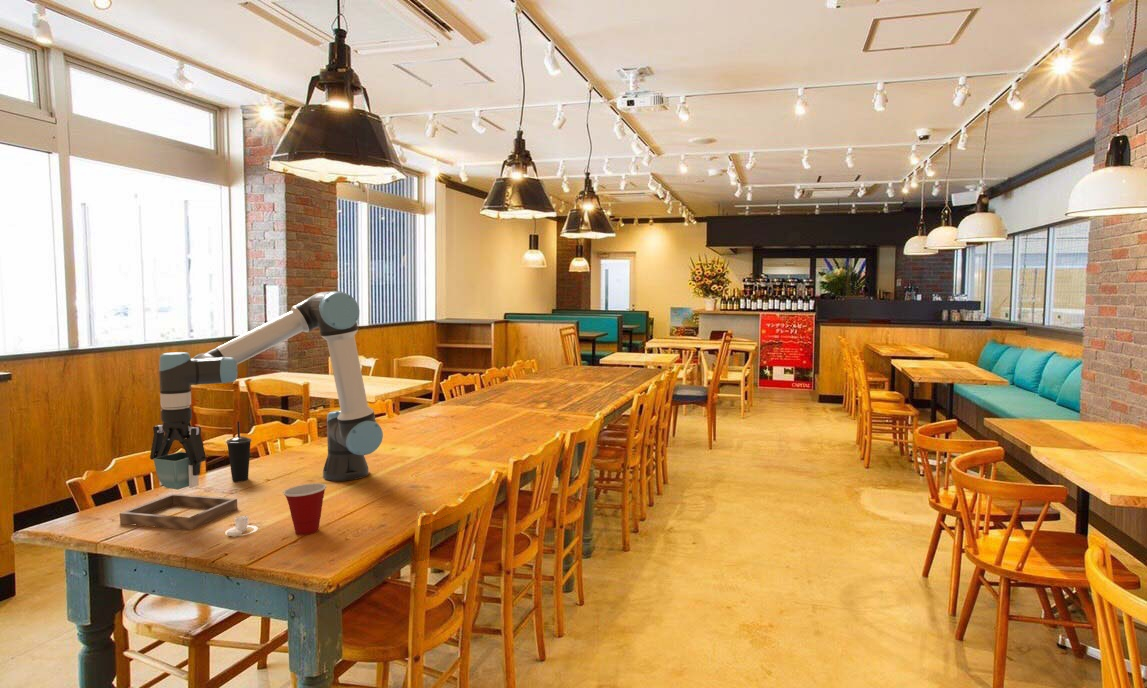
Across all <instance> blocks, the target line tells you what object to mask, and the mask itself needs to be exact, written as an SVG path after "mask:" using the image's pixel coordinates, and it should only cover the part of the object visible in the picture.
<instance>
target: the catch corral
mask: <svg viewBox="0 0 1147 688" xmlns="http://www.w3.org/2000/svg"><path fill="white" fill-rule="evenodd" d="M171 506H179V507H180V506H183V507H193V508H194V507H195V508H206V510H203V511H202V512H199V513H196V514H194V515H192V516H190V517H186V516H175V515H166V514H165V515H164V514H163V515H162V514H154V513H156V512H159V511H161V510H164V509H166V508H169V507H171ZM237 509H238V498H232V497H231V498H230V497H221V496H220V497H218V496H207V495H193V494H181V493H179V494H178V493H171V494H168V495H165V496H162V497H160V498H158V499H157V498H156V499H154V500H151V501H149V502H146V503H144V504H141V505H138V506H135V507H133V508H131V509H128V510H125V511H122V512H119V524H120V523H122V524H121V525H127V524H136V525H135V526H138V525H146V526H145V527H149V526H155V527H154V528H160V527H165V528H164V529H171V528H175V529H174V530H182V529H186V530H185V531H191V530H193V529H196V528H198V527H200V526H202V524H203V525H205V524H206V523H209V522H211V521H213V520H216V519H218V518H220V517H222V516H224V515H226V514H229V513H231V512H233V511H235V510H237ZM204 523H205V524H204Z"/></svg>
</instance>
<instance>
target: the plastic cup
mask: <svg viewBox="0 0 1147 688" xmlns="http://www.w3.org/2000/svg"><path fill="white" fill-rule="evenodd" d="M326 488H327V485H326V484H325V483H320V482H318V483H316V482H315V483H313V482H312V483H305V484H300V485H296V486H293V487H289V488H287V489H284V491H283V492H282V493H283V496H284V497H285V498H286V501H287V503H288V508H289V512H290V516H291V520H292V524H293V528H294V529H293V530H294V532H295V534H296V535H300V536H302V535H303V536H304V535H305V536H307V535H311V534H315V533H317V532H318V531H319V529H320V522H321V521H320V520H321V518H322V509H323V503H324V496H325V490H326Z"/></svg>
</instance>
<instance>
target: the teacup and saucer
mask: <svg viewBox="0 0 1147 688" xmlns="http://www.w3.org/2000/svg"><path fill="white" fill-rule="evenodd" d="M247 528H252V529H253V530H252V531H250V532H247V533H244V532H246V530H247ZM258 530H259V527H257V526H256V525H251V524H250V525H249V516H247V515H239V516H236V517H234V526H233V527H231V528H229V529H227V530H225V532H224V534H225V535H226V536H229V537H240V536H247V535H250V534H253V533H255V532H257V531H258ZM242 533H243V534H242Z"/></svg>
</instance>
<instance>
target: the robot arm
mask: <svg viewBox="0 0 1147 688" xmlns="http://www.w3.org/2000/svg"><path fill="white" fill-rule="evenodd" d="M359 317H360V307H359V304H358V302H357V301H356V299H355V298H354V297H353V296H351V295H350V294H348V293H346V292H343V291H340V290H339V291H338V290H334V291H332V290H331V291H326V290H325V291H320V292H317V293H314V294H313V295H311V296H310V297H308V298H306V299H304V300H303V301H301V302H299V303H297V304H295V305H293V306H292V307H291V309H290V311H288V312H286V313H284V314H282V315H279V317H276V318H274V319H272V320H269V321H267V322H266V323H264V324H262V325H259V326H258V327H255V328H253V329H252V330H249V331H247V332H245V333H244V334H241V335H238V336H237V337H235V338H233V339H231V340H229V341H227V342H225V343H224V344H221V345H219V346H216V348H213V349H210V350H209V351H206V352H203V353H198V354H197V355H195V356H193V357H190V356H191V355H190V353H189V352H187V351H186V352H183V351H176V352H174V351H173V352H164V353H161V354H160V356H159V362H158V363H159V366H158V374H159V377H158V378H159V390H160V391H159V392H160V393H159V395H160V398H159V399H160V407H161V409H160V421H161V422H162V424H158V425H154V426H153V427H152V429H153V437H152V442H151V449H150V455H149V459H150V460H153V461H154V458H157V457H162V456H166V455H169V454H170V453H169V452H170V450H171V448H172V445H173V443H174V441H178V442H179V444H181V445H182V448H183V449H184V452H186V454H187V456H188V458H189V460H190V462H191V464H189V465H188V467H189V486H188V487H189V489H192V488H195V487H198V486H199V485H200V484H199V478H200V477H199V476H200V475H201V468H200V463H201V464H202V462H203V463H204V462H206V461H207V455H206V451H205V448H204V447H205V446H204V443H203V439H202V438H203V437H202V435H201V433H202V428H201V427H200V426H197V427H196V426H195V427H194V426H192V425H191V420H192V419H193V410H192V407H191V405H192V386H198V385H212V384H213V385H214V384H227V383H234V382H236V380H237V379H238V365H239V364H241V363H244V362H245V361H247V360H249V359H251V358H253V357H255V356H257V355H259V354H261V353H263V352H265V351H267V350H268V349H271V348H273V347H275V346H277V345H279V344H280V343H282V342H285V341H287V340H289V339H291V338H292V337H294V336H297V335H299V334H300V333H302V332H304V333H309V332H311V331H314V330H315V329H318V330H319V334H320V337H321V338H323V339H324V340H325V341H326V343H327V348H328V354H329V358H330V362H331V367H332V374H333V378H334V382H335V388H336V393H337V398H338V403H339V408H340V410H333V411H329V412H328V413H327V416H326V419H327V420H326V431H327V432H326V434H327V435H326V436H327V455H326V456H327V457H326V460H325V463H324V466H323V470H322V477H323V479H324V480H327V481H332V482H334V481H335V482H342V481H343V482H346V481H353V480H358V479H361V478H365V477H367V476H368V475H369V472H370V471H369V465H368V462H367V459H366V457H365V456H368V455H371V454H372V453H374V452H375V451H377V449H378V448H380V446H381V444H382V442H383V438H384V432H383V429H382V427H381V426H380V424H378V422H377V421H376V415H375V410H374V409H373V408H371V407H370V406H369V405H368V400H367V394H366V390H365V389H366V388H365V384H364V379H363V378H364V377H363V373H362V370H361V369H362V368H361V363H360V359H359V357H360V356H359V352H358V348H357V343H356V338H355V336H356V334H357V333H358V331H359V327H358V322H357V321H358V320H359ZM198 475H199V476H198ZM158 482H159V483H158V484H159V486H164V485H163V484H162V483H161V482H160V480H159V479H158Z"/></svg>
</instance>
